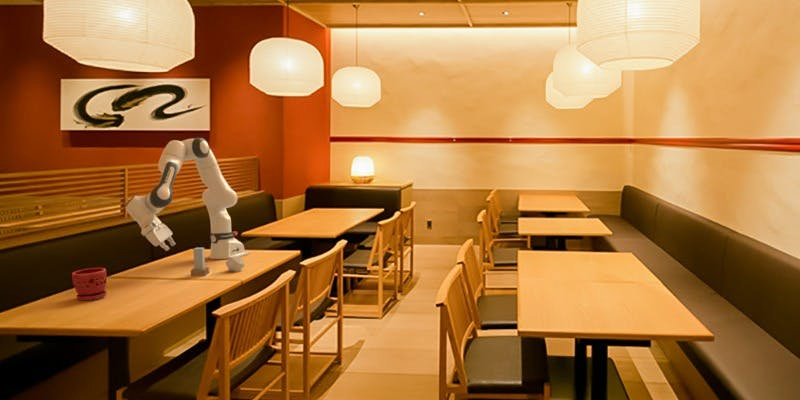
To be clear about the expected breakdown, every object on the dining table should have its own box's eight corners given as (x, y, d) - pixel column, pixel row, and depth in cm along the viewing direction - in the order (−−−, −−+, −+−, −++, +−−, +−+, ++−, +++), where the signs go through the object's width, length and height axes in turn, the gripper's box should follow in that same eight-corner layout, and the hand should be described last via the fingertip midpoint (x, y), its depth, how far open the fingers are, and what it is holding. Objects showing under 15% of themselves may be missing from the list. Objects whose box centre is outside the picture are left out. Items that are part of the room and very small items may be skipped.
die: (248, 271, 333) (242, 255, 337) (242, 266, 326) (237, 249, 329) (232, 278, 333) (227, 261, 337) (227, 272, 325) (221, 255, 329)
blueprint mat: (205, 271, 333) (204, 270, 333) (222, 273, 326) (222, 273, 326) (181, 276, 321) (181, 275, 321) (198, 279, 314) (198, 278, 314)
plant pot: (98, 293, 290) (96, 266, 289) (113, 297, 282) (111, 269, 281) (68, 299, 280) (66, 271, 279) (82, 303, 272) (80, 274, 271)
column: (197, 267, 325) (195, 247, 324) (205, 267, 325) (204, 247, 324) (194, 269, 321) (193, 249, 320) (202, 269, 321) (201, 248, 320)
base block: (195, 273, 326) (194, 267, 326) (209, 273, 327) (209, 267, 326) (191, 276, 320) (190, 270, 319) (205, 276, 320) (205, 269, 319)
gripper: (154, 225, 332) (172, 246, 334) (139, 234, 312) (159, 256, 314) (163, 217, 331) (182, 238, 333) (150, 226, 311) (169, 248, 313)
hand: (171, 247), depth 323 cm, fingers open, 8 cm apart
